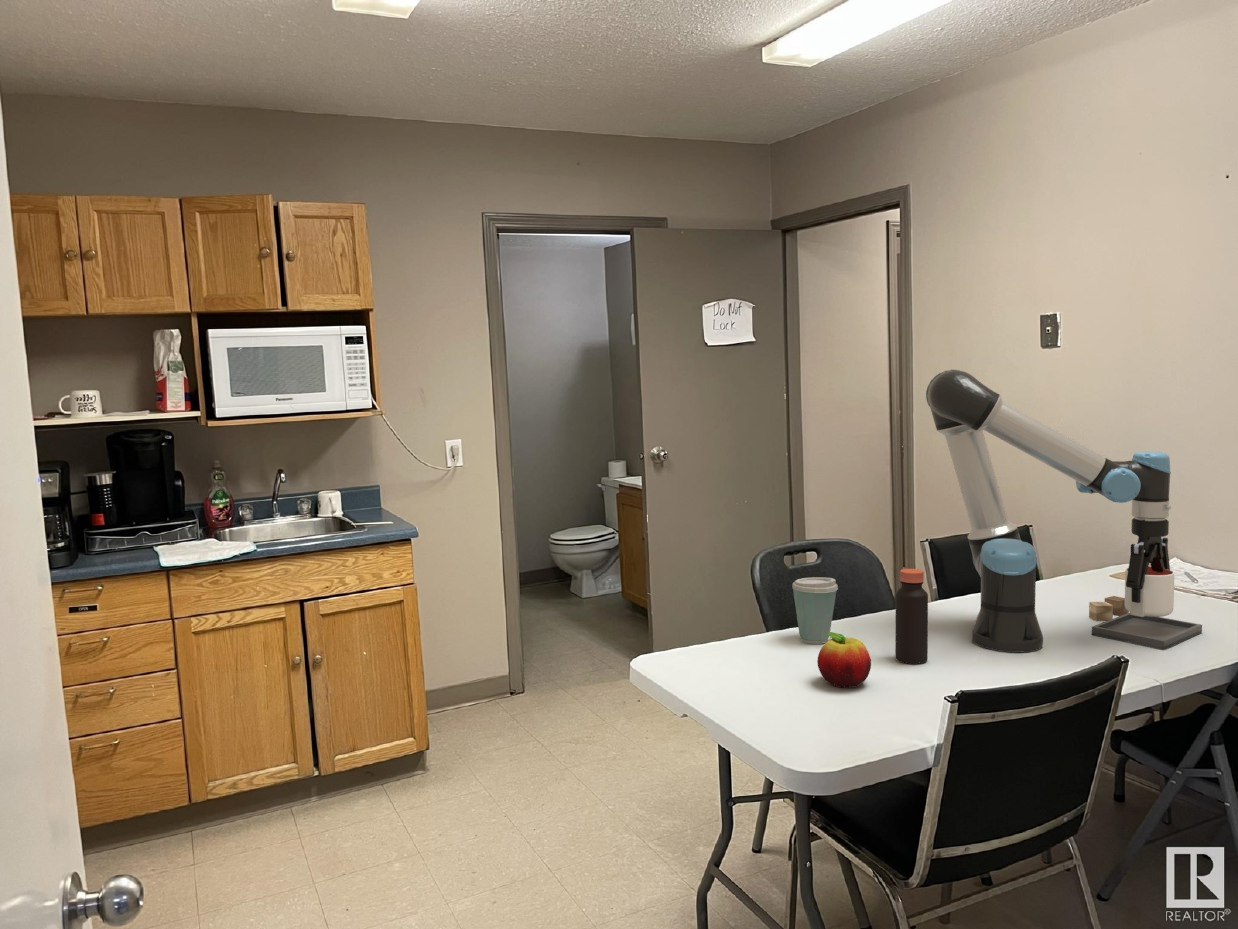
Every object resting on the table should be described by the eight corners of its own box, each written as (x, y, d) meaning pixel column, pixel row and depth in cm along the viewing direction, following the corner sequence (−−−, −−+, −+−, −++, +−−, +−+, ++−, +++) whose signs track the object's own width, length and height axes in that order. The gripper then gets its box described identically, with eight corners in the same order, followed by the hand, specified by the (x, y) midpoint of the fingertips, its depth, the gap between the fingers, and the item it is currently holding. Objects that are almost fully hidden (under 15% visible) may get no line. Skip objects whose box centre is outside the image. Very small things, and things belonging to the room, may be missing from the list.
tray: (1163, 650, 206) (1164, 641, 205) (1091, 635, 218) (1091, 626, 218) (1201, 633, 218) (1202, 624, 217) (1131, 619, 230) (1131, 611, 230)
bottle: (888, 658, 205) (889, 569, 203) (913, 653, 208) (913, 566, 206) (909, 666, 199) (910, 575, 197) (934, 662, 202) (935, 572, 200)
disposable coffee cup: (783, 641, 220) (783, 579, 218) (807, 631, 228) (807, 571, 226) (823, 649, 213) (822, 585, 211) (846, 639, 220) (846, 577, 219)
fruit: (838, 695, 183) (838, 646, 182) (806, 679, 193) (806, 633, 192) (882, 687, 187) (882, 639, 186) (848, 671, 197) (848, 626, 196)
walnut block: (1119, 616, 234) (1119, 601, 233) (1104, 613, 237) (1104, 598, 237) (1128, 614, 236) (1129, 598, 235) (1113, 611, 239) (1113, 595, 239)
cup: (1180, 618, 211) (1181, 575, 210) (1132, 617, 213) (1133, 575, 212) (1163, 607, 221) (1164, 566, 220) (1118, 606, 223) (1119, 566, 222)
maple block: (1095, 621, 230) (1096, 606, 229) (1088, 617, 234) (1089, 601, 233) (1112, 621, 229) (1113, 605, 229) (1105, 617, 233) (1105, 601, 233)
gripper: (1144, 526, 205) (1142, 623, 208) (1188, 514, 219) (1186, 605, 221) (1110, 522, 211) (1108, 617, 214) (1154, 511, 225) (1152, 600, 227)
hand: (1147, 611), depth 217 cm, fingers closed on cup, 10 cm apart
